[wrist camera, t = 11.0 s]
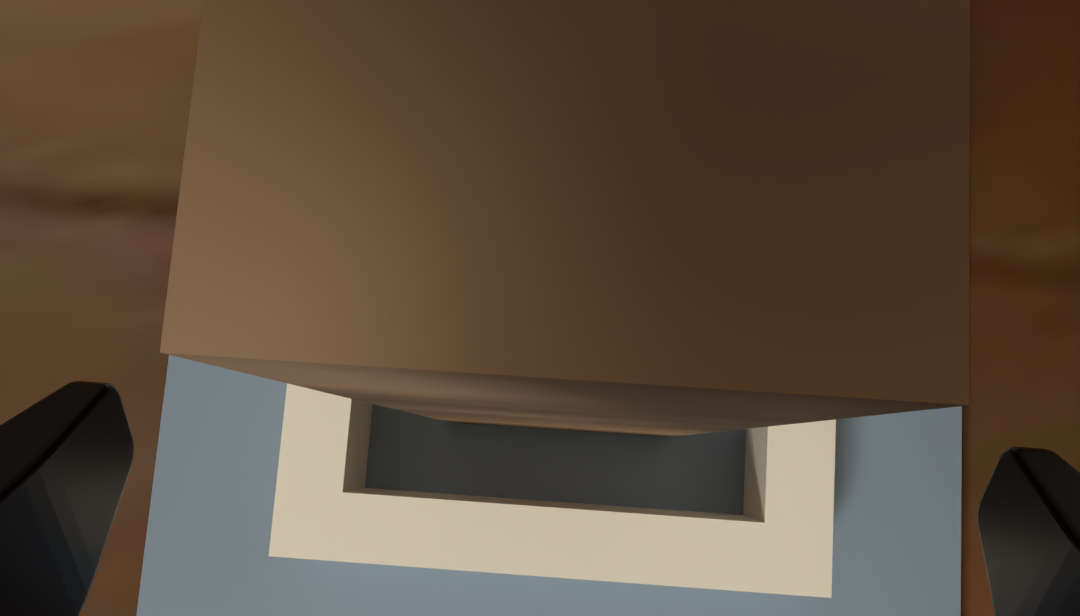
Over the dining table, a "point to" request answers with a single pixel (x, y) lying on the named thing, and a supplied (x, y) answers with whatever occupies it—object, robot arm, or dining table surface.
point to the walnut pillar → (582, 208)
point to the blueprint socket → (538, 513)
